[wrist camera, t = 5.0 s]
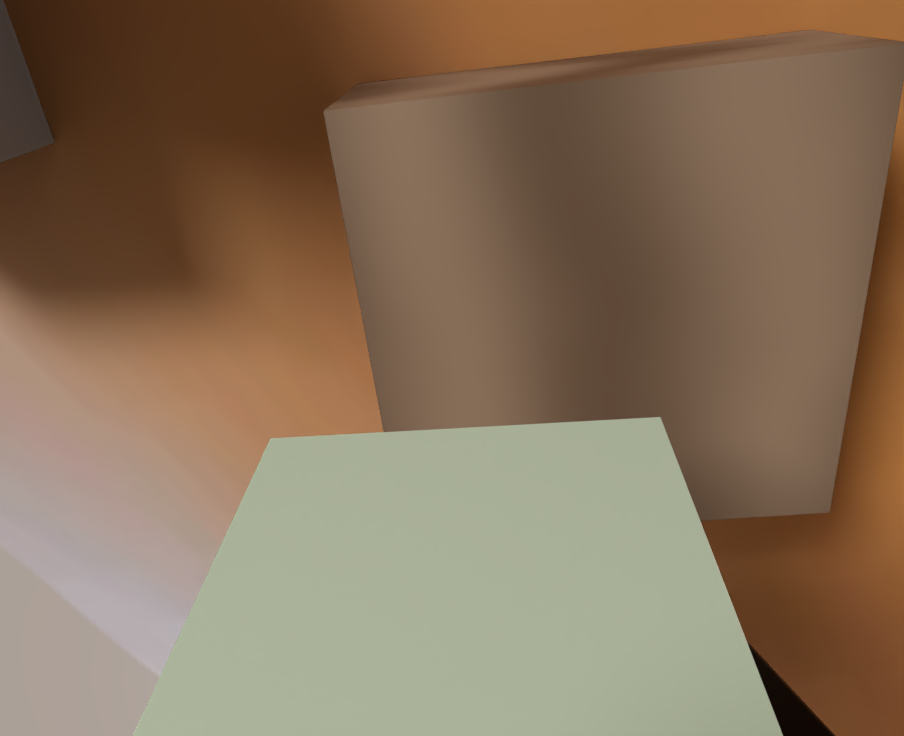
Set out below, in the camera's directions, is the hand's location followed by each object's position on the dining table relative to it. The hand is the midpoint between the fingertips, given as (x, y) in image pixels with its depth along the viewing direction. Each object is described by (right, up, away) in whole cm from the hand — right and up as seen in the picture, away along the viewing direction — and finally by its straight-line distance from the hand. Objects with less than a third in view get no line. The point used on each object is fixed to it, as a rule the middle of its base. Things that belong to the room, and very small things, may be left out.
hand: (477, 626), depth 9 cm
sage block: (0, 0, +1) cm, 1 cm away
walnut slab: (+3, +6, +9) cm, 11 cm away
